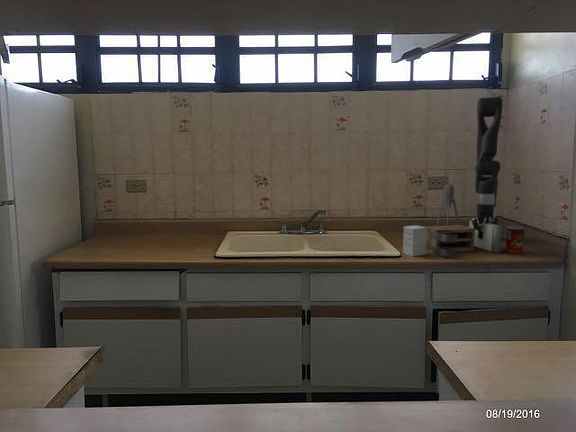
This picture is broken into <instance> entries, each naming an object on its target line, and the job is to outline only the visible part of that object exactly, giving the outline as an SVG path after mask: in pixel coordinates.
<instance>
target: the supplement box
mask: <svg viewBox="0 0 576 432" xmlns="http://www.w3.org/2000/svg"><path fill="white" fill-rule="evenodd" d="M425 227H426V226H421V225H406V226H403V243H402V245H403V246H402V253H403V254H404V255H408V256H410V257H419V256H426V255H427V254H426V253H427V251H426V250H427V249H426V228H425Z"/></svg>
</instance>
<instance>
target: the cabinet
mask: <svg viewBox="0 0 576 432" xmlns="http://www.w3.org/2000/svg"><path fill="white" fill-rule="evenodd" d="M424 227H425V228H426V250H427V251H430V252H431V253H433V254H435V255H439V256H441V257H444V258H451V257H457V256H458V255H457V254H458V252H459V253H460V252H469V251H470V252H471V251H472V252H473V251H475V246H474V239H475V228H471V227H469V226H466V225H461V224H458V225H456V224H454V225H453V224H452V225H450V224H449V226H447V225H438V226H437V225H433V226H424Z"/></svg>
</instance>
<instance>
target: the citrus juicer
mask: <svg viewBox="0 0 576 432" xmlns="http://www.w3.org/2000/svg"><path fill="white" fill-rule="evenodd" d="M443 194H444V198H442V200H441V204H440V207H439V212H438V215H437V216H438V217H437V221H436V226H440V225H439V224H440V218H441V215H442V210H443V208H444V204H445V205H446V208H447V221H446V226H449V225H450V223H449V222H450V221H449V220H450V208H451V205H452V204H453V208H454V213H455V214H454V215H455V222H456V223H455V225H459V218H458V211H457V203H456V199H455V198H454V197H455V196H454V195H455V187H454V185H453V184H451V183H450V184H446V185H445V186H444V189H443Z"/></svg>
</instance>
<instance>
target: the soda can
mask: <svg viewBox="0 0 576 432" xmlns="http://www.w3.org/2000/svg"><path fill="white" fill-rule="evenodd" d="M524 237H525V228H524V226H521V225H512V224H511V225H508V226H507V228H506V238H505V239H506V240H505V241H506V242H505V243H506V244H505V250H506V252H507V253H508V254H514V255H521V253H522V252H523V249H524V239H525V238H524Z"/></svg>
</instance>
